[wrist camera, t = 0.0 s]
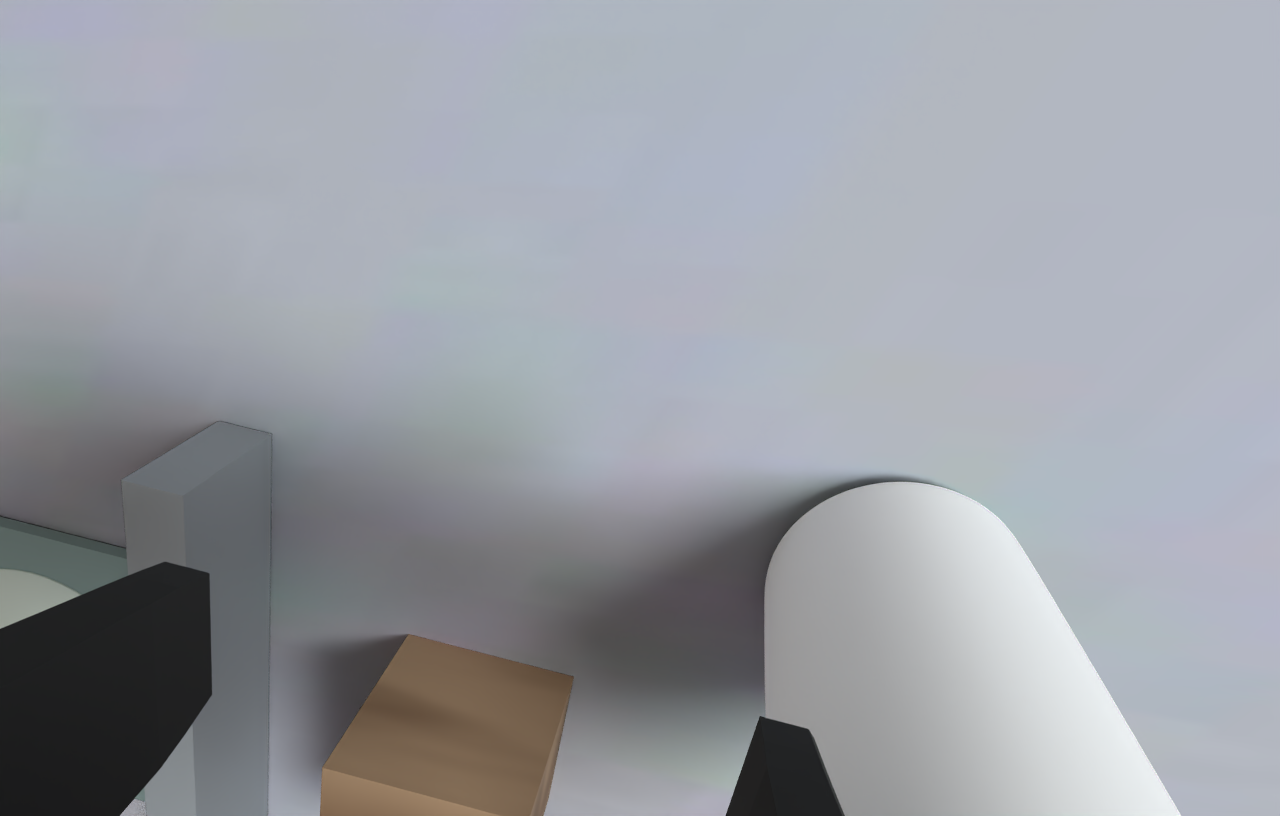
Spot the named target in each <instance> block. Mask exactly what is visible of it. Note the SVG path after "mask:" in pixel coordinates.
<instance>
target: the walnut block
mask: <svg viewBox="0 0 1280 816" xmlns="http://www.w3.org/2000/svg"><path fill="white" fill-rule="evenodd" d="M573 679H574V677H573V676H569V675H565V674H561V673H557V672H554V671H550V670H546V669H542V668H538V667H534V666H530V665H526V664H523V663H519V662H515V661H511V660H507V659H503V658H499V657H495V656H491V655H488V654H484V653H480V652H476V651H472V650H468V649H464V648H460V647H457V646H453V645H449V644H445V643H441V642H437V641H433V640H429V639H426V638H422V637H418V636H414V635H410V634H408V636H407V637H406V639H405V640H404V642H403V643H402V645H401V647H400V648H399V650H398V651H397V653H396V654H395V656H394V657H393V659H392V660H391V662H390V664H389V665H388V667H387V668H386V670H385V671H384V673H383V674H382V676H381V678H380V679H379V681H378V682H377V684H376V685H375V687H374V688H373V690H372V691H371V693H370V695H369V696H368V698H367V699H366V701H365V702H364V704H363V705H362V707H361V708H360V710H359V712H358V713H357V715H356V716H355V718H354V719H353V721H352V722H351V724H350V726H349V727H348V729H347V730H346V732H345V733H344V735H343V736H342V738H341V739H340V741H339V743H338V744H337V746H336V747H335V749H334V750H333V752H332V753H331V755H330V756H329V758H328V760H327V761H326V763H325V764H324V766H323V767H322V784H321V805H320V816H543V815H544V812H545V808H546V805H547V802H548V798H549V793H550V788H551V784H552V779H553V774H554V769H555V765H556V760H557V755H558V750H559V745H560V741H561V736H562V731H563V726H564V722H565V717H566V712H567V707H568V702H569V698H570V693H571V688H572V683H573Z"/></svg>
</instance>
